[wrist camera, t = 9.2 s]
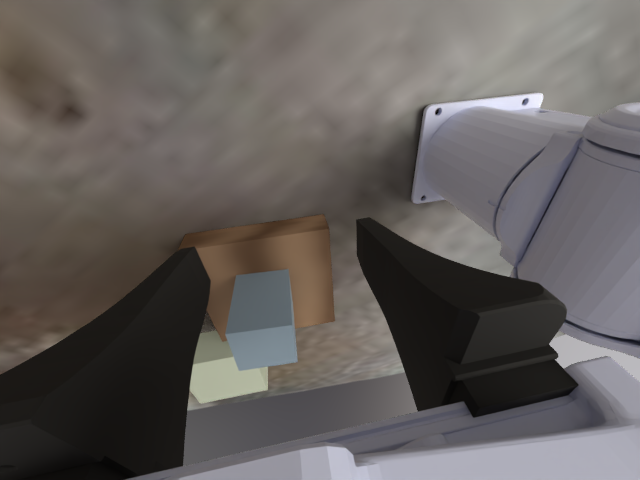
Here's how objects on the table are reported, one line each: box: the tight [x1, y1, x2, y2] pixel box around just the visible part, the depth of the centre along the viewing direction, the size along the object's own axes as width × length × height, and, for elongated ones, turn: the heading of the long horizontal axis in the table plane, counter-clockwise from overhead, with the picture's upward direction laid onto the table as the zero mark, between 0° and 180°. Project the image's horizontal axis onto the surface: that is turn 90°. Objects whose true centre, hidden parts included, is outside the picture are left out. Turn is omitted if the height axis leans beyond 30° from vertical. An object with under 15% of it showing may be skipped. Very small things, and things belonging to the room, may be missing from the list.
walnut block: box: [178, 214, 335, 342], centre depth 25 cm, size 12×12×3 cm
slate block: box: [225, 269, 297, 371], centre depth 21 cm, size 4×4×6 cm
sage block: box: [190, 330, 268, 404], centre depth 30 cm, size 8×8×4 cm
